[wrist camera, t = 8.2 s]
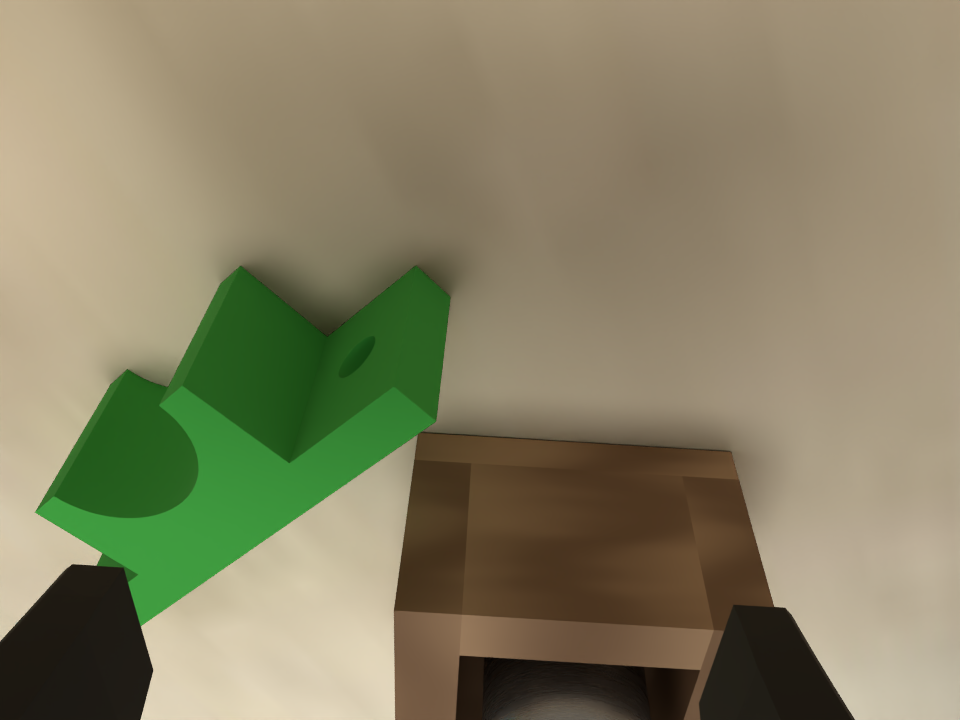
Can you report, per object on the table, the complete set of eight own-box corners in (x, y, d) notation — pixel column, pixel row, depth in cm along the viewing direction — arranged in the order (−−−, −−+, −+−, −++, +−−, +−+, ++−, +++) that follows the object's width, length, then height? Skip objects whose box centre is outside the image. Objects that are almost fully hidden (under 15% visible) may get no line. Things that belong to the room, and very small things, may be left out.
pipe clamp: (330, 178, 19) (286, 294, 15) (451, 291, 21) (439, 421, 17) (47, 440, 24) (-39, 577, 20) (164, 515, 25) (105, 655, 22)
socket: (730, 451, 23) (781, 634, 18) (674, 642, 28) (703, 822, 23) (418, 432, 23) (393, 610, 18) (415, 626, 28) (396, 804, 23)
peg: (636, 533, 23) (683, 855, 17) (627, 628, 26) (665, 940, 19) (483, 535, 23) (472, 852, 17) (488, 628, 26) (480, 937, 20)
